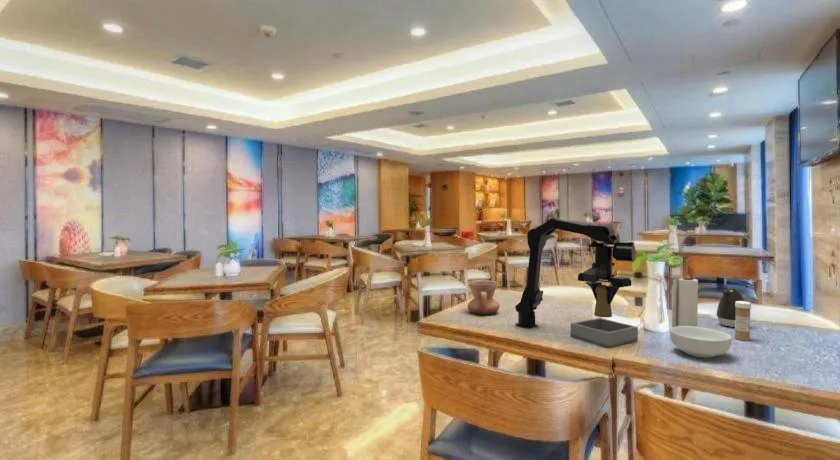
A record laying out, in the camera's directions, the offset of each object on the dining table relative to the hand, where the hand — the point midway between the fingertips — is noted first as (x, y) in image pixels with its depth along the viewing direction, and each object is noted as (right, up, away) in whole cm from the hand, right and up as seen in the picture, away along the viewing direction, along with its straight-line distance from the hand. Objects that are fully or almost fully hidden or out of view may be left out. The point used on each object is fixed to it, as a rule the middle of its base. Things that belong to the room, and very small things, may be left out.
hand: (603, 303), depth 160 cm
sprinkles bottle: (+49, -13, -2) cm, 50 cm away
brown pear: (0, -5, 0) cm, 5 cm away
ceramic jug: (-37, -12, +43) cm, 58 cm away
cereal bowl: (+24, -14, -17) cm, 33 cm away
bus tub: (0, -13, +1) cm, 13 cm away
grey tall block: (+31, -13, +2) cm, 33 cm away
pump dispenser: (+57, -12, +16) cm, 61 cm away
